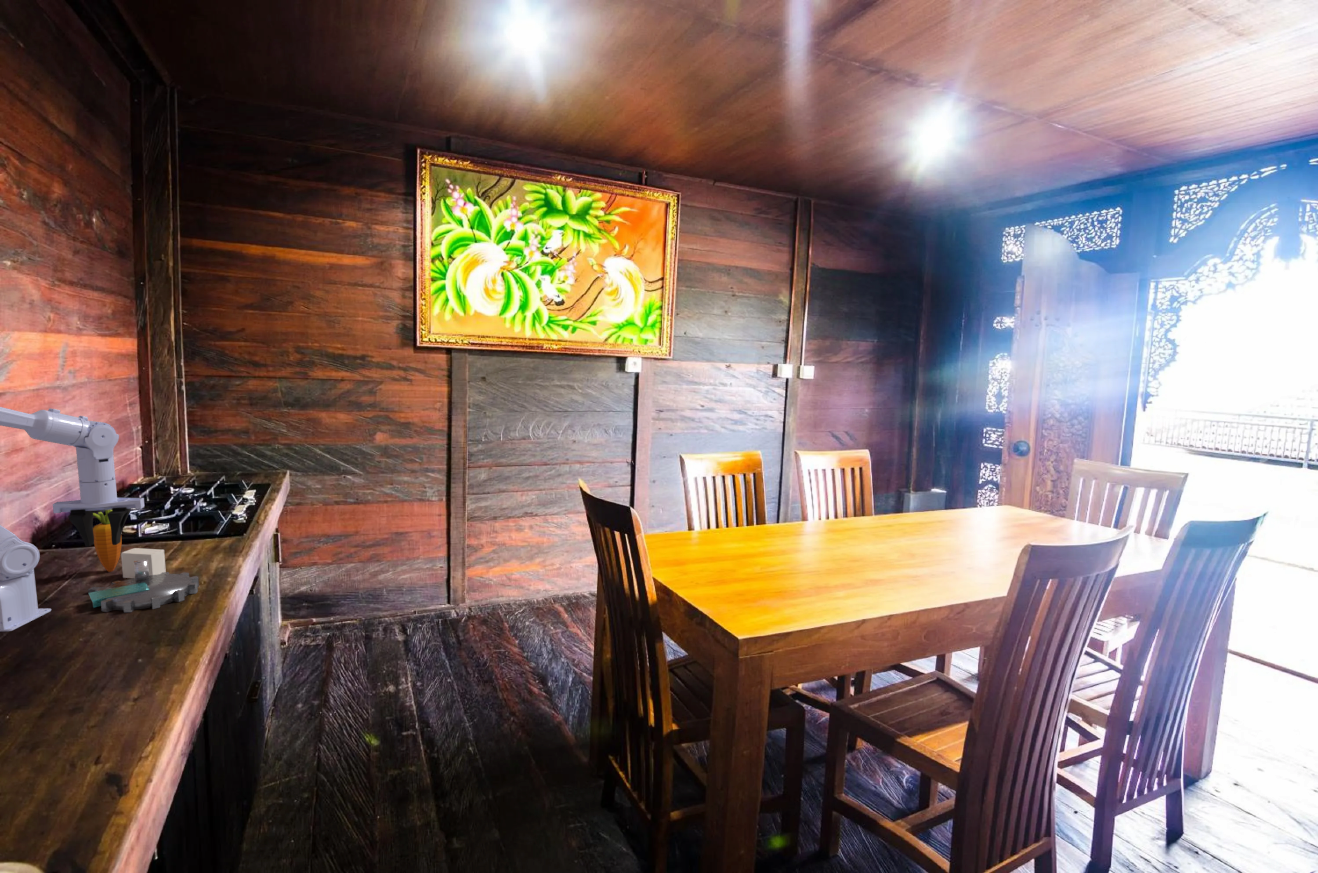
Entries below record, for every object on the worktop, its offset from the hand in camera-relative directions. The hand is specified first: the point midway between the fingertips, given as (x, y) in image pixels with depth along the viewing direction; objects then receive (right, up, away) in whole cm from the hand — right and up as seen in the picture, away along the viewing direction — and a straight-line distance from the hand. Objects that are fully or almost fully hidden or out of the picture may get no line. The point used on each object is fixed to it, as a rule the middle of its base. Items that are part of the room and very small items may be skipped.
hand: (103, 544), depth 138 cm
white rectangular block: (0, -9, +11) cm, 14 cm away
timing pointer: (-2, -10, +1) cm, 11 cm away
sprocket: (+9, -11, 0) cm, 14 cm away
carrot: (-9, -9, +13) cm, 18 cm away
